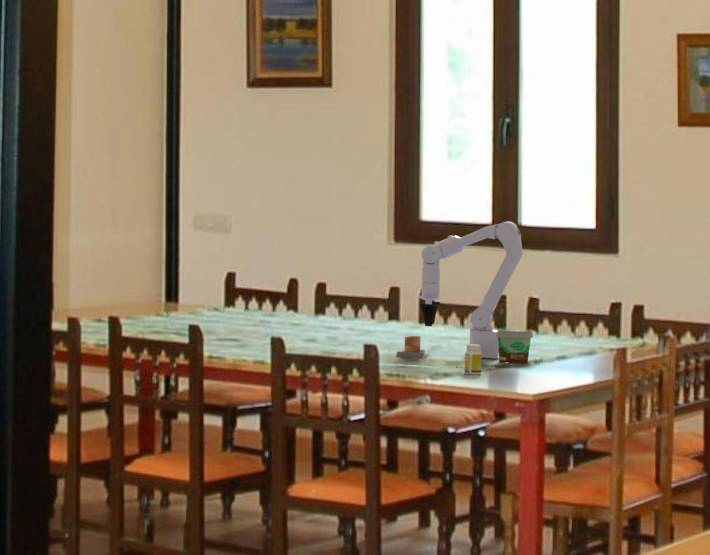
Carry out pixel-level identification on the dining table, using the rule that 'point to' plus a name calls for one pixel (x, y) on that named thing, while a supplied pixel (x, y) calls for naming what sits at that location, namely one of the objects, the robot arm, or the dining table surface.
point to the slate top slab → (410, 353)
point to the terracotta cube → (412, 343)
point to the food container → (514, 346)
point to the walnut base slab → (412, 357)
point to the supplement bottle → (473, 359)
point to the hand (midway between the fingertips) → (429, 325)
